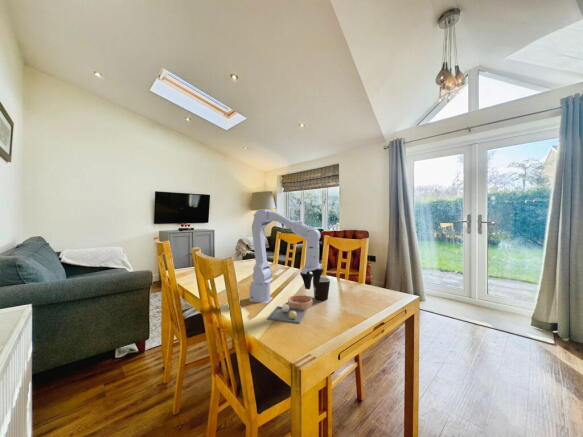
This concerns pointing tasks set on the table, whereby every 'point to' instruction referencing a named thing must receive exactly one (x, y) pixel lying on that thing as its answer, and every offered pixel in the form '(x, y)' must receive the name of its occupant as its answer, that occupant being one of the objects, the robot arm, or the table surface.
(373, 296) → the table surface
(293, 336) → the table surface
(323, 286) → the coffee mug
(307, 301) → the bowl
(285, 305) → the white ball
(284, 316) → the parts tray
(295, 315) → the tan ball
